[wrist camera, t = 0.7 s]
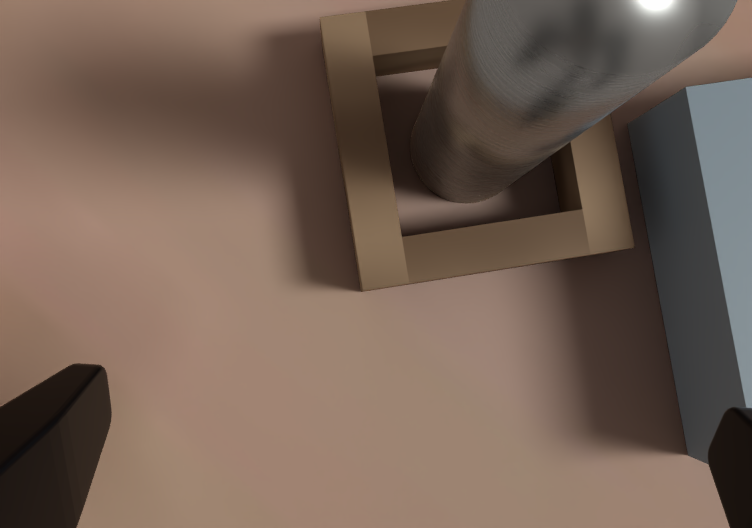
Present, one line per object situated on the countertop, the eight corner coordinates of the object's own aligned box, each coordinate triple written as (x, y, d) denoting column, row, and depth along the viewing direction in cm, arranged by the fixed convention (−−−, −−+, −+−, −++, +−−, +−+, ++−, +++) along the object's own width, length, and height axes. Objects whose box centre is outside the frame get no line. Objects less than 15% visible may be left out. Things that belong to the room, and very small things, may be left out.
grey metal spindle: (529, 194, 23) (767, 54, 10) (419, 211, 23) (522, 88, 10) (510, 85, 24) (720, -185, 11) (401, 100, 23) (479, -158, 10)
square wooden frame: (609, 252, 23) (634, 247, 21) (361, 292, 23) (363, 290, 21) (565, 9, 24) (586, -18, 22) (321, 42, 23) (319, 17, 21)
